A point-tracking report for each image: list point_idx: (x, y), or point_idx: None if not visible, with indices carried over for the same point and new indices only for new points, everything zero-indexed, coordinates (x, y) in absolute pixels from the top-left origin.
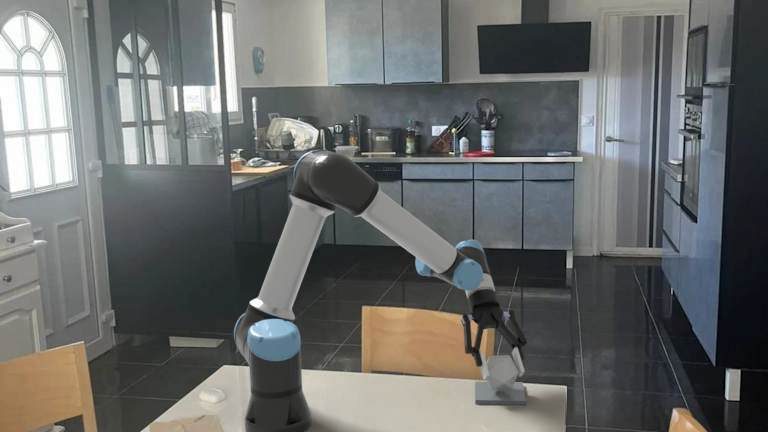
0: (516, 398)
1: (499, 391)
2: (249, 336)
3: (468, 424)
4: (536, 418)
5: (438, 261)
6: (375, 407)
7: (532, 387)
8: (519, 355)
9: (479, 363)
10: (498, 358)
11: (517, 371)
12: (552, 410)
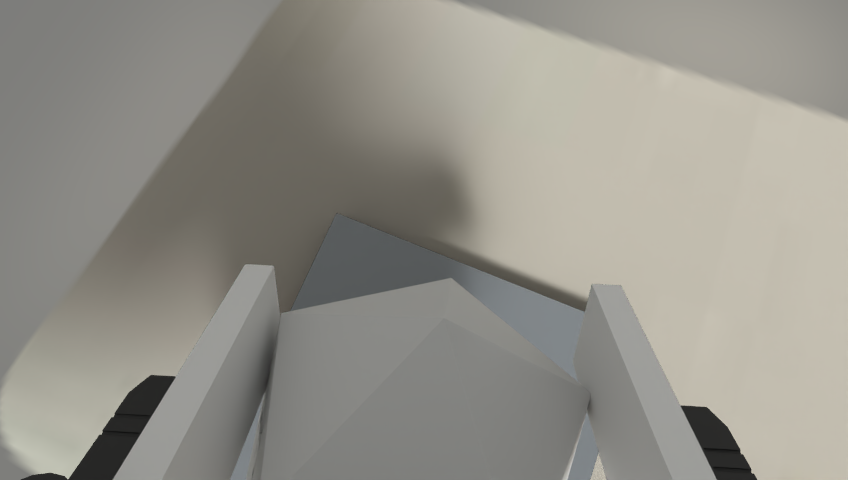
0: (373, 266)
1: None
2: None
3: (737, 98)
4: (373, 53)
5: None
6: None
7: None
8: (174, 388)
9: (700, 415)
10: (447, 439)
11: (296, 311)
12: (242, 110)
